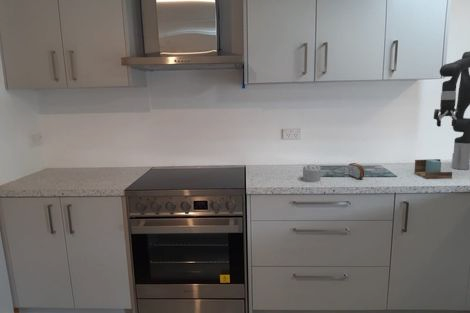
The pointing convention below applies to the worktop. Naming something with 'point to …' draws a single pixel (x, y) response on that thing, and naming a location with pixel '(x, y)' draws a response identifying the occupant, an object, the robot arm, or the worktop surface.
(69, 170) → the worktop surface
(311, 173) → the lumpy-topped squat cylinder
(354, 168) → the grey brown half-round slab
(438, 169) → the cabinet block
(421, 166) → the wall rack
